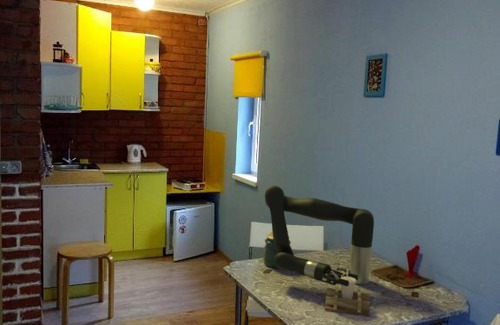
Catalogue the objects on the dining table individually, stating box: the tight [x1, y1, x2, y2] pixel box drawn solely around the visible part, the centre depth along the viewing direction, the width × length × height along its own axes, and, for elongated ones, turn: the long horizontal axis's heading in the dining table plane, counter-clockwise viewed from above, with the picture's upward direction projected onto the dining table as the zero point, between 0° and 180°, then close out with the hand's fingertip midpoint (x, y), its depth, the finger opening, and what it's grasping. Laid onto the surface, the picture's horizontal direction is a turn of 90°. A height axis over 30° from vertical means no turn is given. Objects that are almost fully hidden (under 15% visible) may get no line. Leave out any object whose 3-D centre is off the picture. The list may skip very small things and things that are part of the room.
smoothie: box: [340, 268, 357, 299], centre depth 194 cm, size 6×6×14 cm
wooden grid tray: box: [324, 285, 371, 317], centre depth 195 cm, size 17×17×4 cm
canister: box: [263, 232, 291, 269], centre depth 239 cm, size 13×13×18 cm
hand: (353, 280), depth 193 cm, fingers open, 8 cm apart
